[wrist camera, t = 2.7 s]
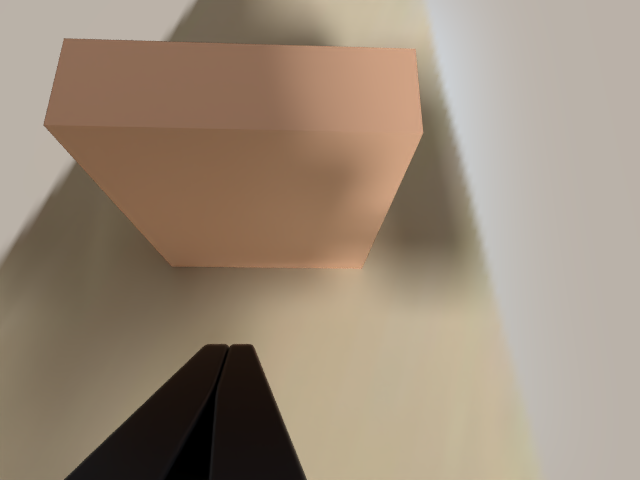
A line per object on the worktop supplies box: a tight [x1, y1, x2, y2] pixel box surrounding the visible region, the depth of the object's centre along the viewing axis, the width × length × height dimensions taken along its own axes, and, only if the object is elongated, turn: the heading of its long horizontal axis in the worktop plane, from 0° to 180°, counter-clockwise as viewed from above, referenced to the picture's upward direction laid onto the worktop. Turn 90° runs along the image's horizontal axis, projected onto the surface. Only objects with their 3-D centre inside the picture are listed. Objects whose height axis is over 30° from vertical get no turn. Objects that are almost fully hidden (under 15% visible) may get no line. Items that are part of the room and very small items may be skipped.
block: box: [44, 38, 423, 268], centre depth 13 cm, size 2×7×9 cm, turn 90°
